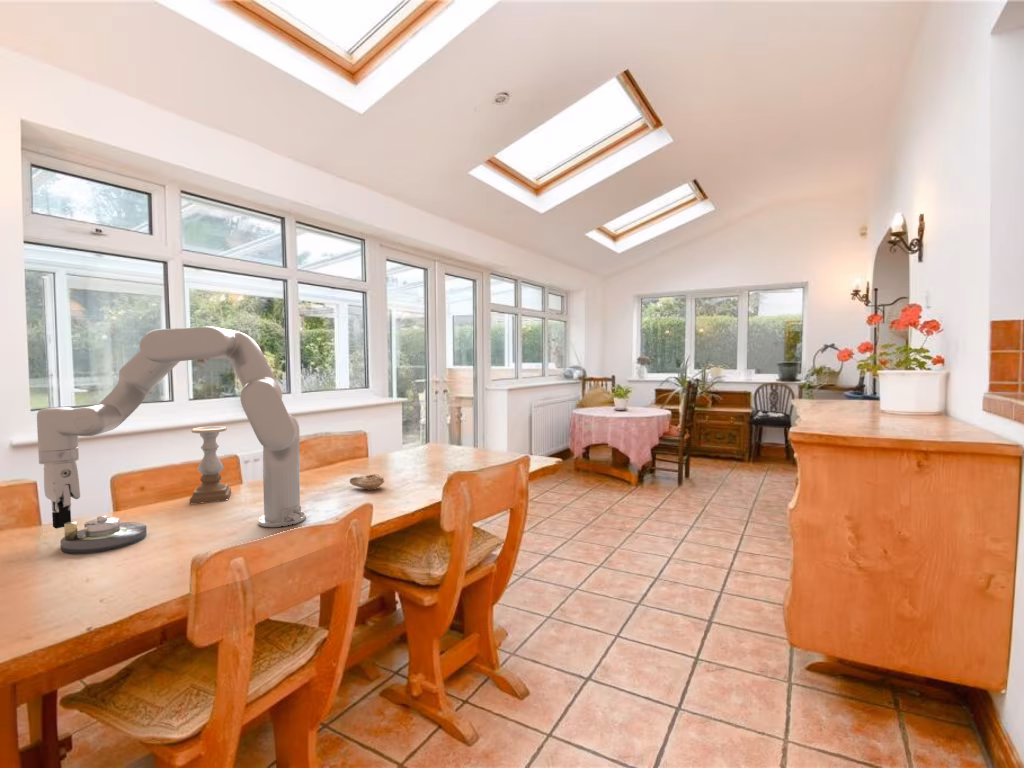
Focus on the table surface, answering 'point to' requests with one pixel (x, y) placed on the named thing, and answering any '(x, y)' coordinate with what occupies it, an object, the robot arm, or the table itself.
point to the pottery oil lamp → (367, 481)
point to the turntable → (100, 538)
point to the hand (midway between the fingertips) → (62, 526)
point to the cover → (102, 526)
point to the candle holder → (210, 468)
